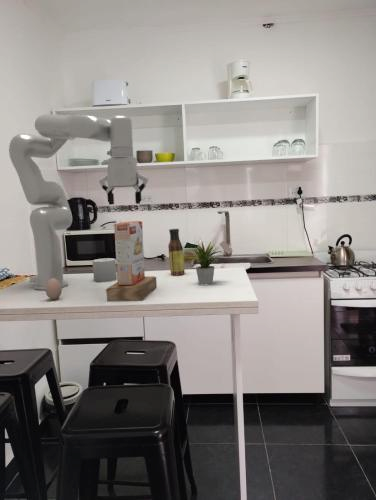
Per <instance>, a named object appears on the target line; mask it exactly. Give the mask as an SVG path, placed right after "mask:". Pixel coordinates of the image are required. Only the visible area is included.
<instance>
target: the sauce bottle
mask: <svg viewBox="0 0 376 500" xmlns="http://www.w3.org/2000/svg"><path fill="white" fill-rule="evenodd" d="M168 230H169V235H170V237H169V239H170V240H169V243H168V245H167V246H168V261H169V270H170V275H171V276H183V275H184V274H185V268H186V267H185V259H184V257H185V256H184V247H183V244H182V241H181V240H180V234H179V233H180V229H179V228H170V229H168Z"/></svg>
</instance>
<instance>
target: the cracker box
mask: <svg viewBox="0 0 376 500" xmlns="http://www.w3.org/2000/svg"><path fill="white" fill-rule="evenodd" d="M113 228H114V243H115V259H116V274H117V279H116V281H117V282H118V285H134V284H136V283H137V282H139V281H140V280H142V279H143V278H145V277H146V276H145V257H144V253H145V251H144V236H143V235H144V233H143V232H144V231H143V221H141V220H138V221H137V220H135V221H133V220H132V221H124V222H117V223H114V225H113ZM117 282H116V283H117Z"/></svg>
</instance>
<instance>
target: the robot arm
mask: <svg viewBox="0 0 376 500" xmlns="http://www.w3.org/2000/svg"><path fill="white" fill-rule="evenodd" d="M132 124H133V122H132V119H131V117H129V116H126V115H114V116H111V117H110V119H106V118H104V117H99V116H95V115H85V114H69V115H66V114H51V113H50V114H49V113H45V114H41V115H39V116H38V117H36V119H35V121H34V128H35V130H36V133H38V134H39V135H36V134H30V133H20V134H19V133H18V134H16V135H14V136H13V137H12V138H11V140H10V143H9V145H8V147H9V148H8V152H9V153H8V155H9V158H10V161H11V164H12V166H13V167H14V169H15V171H16V173H17V176H18V179H19V182H20V185H21V188H22V191H23V195H24V196H25V199H26V201H27V202H28V203H29V205H32V206H42V207H37V208H35V209H34V210H32V211H31V213H30V214H29V225H30V228H31V230H32V234H33V235H32V236H33V240H34V249H35V259H36V260H35V261H36V269H37V270H36V271H37V272H36V273H37V276H31V277H30V278H29V283H35V285H34V289H35V290H39V291H46V285H47V282H48V281H49V280H50V279H52V278H54V279H57V280H58V281H59V282H60V284H61V287H62V288H65V287H68V285H69V282H68V281H65V280H64V272H63V262H62V261H63V259H62V257H63V256H62V248H61V247H62V246H61V240H60V238H59V236H58V233H57V232H56V231H62V230H66V229H68V228H70V227H71V225H72V223H73V215H72V210H71V208H70V204H69V201H68V199H67V197H66V196H67V195H66V193H65V191H64V189H63V188H62V186H61V185H60V184H59V182H58V183H57V182H56V181H46V180H45V179H44V176H43V174H42V172H41V169H40V168H39V165H37V163H36V162H35V161H34V160H33V159H32V158H38V159H39V158H40V159H49V158H52V157H53V156H55V155H56V154H57V153H58V152H59V150H60V149H61V148H62V147H63V146H64V145H65V144H66V143H67V141H68V140H69V141H71V140H75V139H76V138H77V139H80V138H81V139H86V140H87V139H88V140H95V141H101V142H106V143H107V142H109V143H110V149H109V151H107V153H106V154H107V156H110V157H109V158H108V160H107V171H106V172H107V175H106V176H105V177H103V178H102V179H100V180H99V184H100V187H101V188H102V189H103V190H104V191H105V193H106V196H107V202H108V205H109V206H110V205H114V204H115V197H114V193H113V191H114V190H115V189H116V188H134V190H135V193H134V196H135V197H134V198H135V199H134V200H135V204H136V205H138V204H139V205H140V204H141V202H142V192H143V190H144V189H145V188H146V186H147V184H148V182H149V179H148V177H147V178H146V177H145V176H143V175H141V174H139V170H138V165H137V160H136V157H135V156H134V146H133V145H134V144H133V125H132ZM139 181H142V183H141V185H139V184H140V182H139ZM106 182H107V184H106Z"/></svg>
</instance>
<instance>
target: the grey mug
mask: <svg viewBox="0 0 376 500" xmlns="http://www.w3.org/2000/svg"><path fill="white" fill-rule="evenodd" d="M92 273H93V282H95V283H108V282H109V283H110V282H113V281H117V264H116V258H110V257H107V258H105V257H104V258H97V259H94V260H92Z"/></svg>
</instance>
